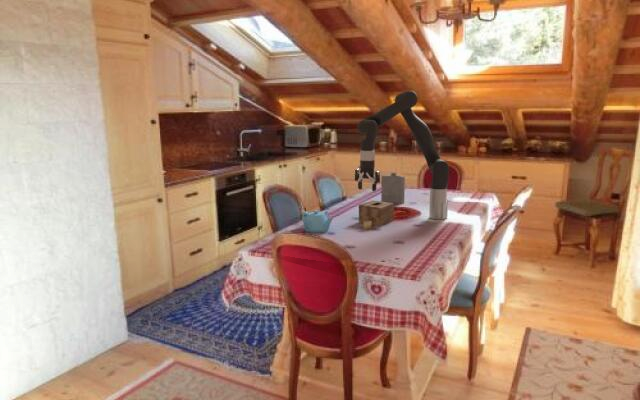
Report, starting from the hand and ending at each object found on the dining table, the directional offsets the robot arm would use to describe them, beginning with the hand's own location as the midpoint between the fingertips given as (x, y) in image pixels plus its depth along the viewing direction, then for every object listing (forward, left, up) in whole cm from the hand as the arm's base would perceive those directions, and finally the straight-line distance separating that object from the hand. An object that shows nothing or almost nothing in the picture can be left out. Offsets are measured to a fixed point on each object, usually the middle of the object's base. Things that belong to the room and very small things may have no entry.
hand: (367, 190), depth 250 cm
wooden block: (-1, +1, -21) cm, 21 cm away
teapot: (+19, +19, -21) cm, 34 cm away
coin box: (+3, -14, -21) cm, 25 cm away
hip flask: (+21, -63, -21) cm, 70 cm away
